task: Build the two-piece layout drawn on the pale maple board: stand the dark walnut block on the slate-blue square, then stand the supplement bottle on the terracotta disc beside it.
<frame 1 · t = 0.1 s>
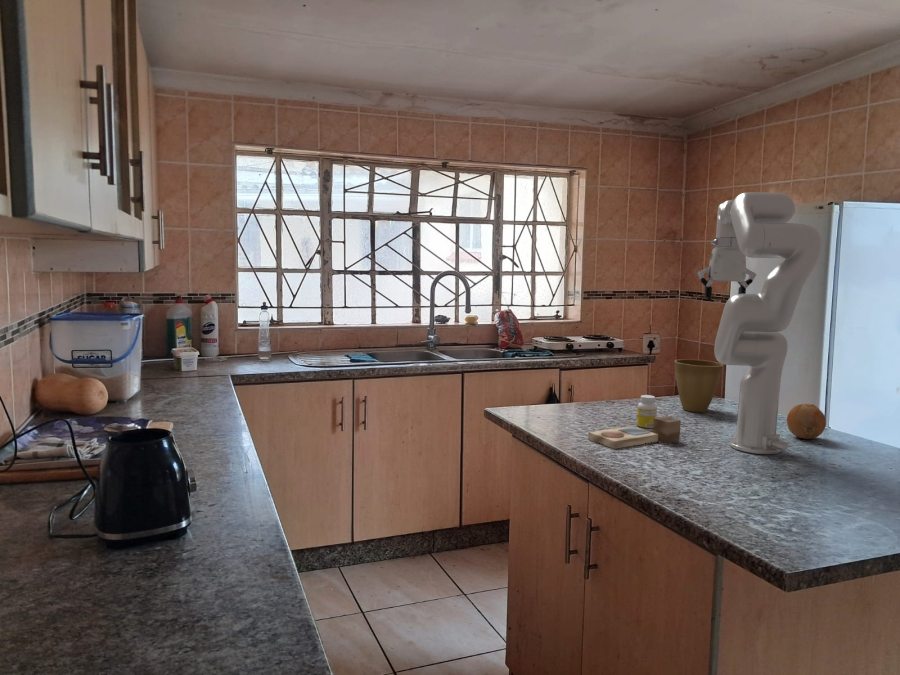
hand: (724, 300, 205), 37 cm above the countertop, tool pointing down, fingers open, 9 cm apart
plant pot: (695, 410, 221), on the countertop
board: (623, 440, 182), on the countertop
supplement bottle: (646, 429, 195), on the countertop
walnut block: (665, 440, 183), on the countertop
onion: (804, 439, 188), on the countertop
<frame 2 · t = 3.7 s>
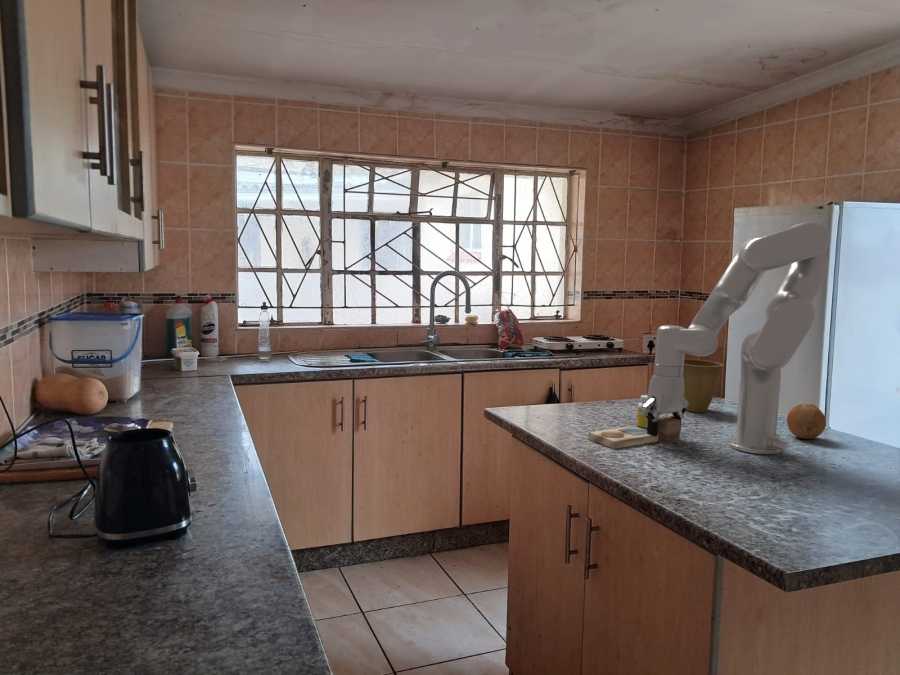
hand: (663, 433, 183), 2 cm above the countertop, tool pointing down, fingers open, 8 cm apart
nothing on the countertop moved.
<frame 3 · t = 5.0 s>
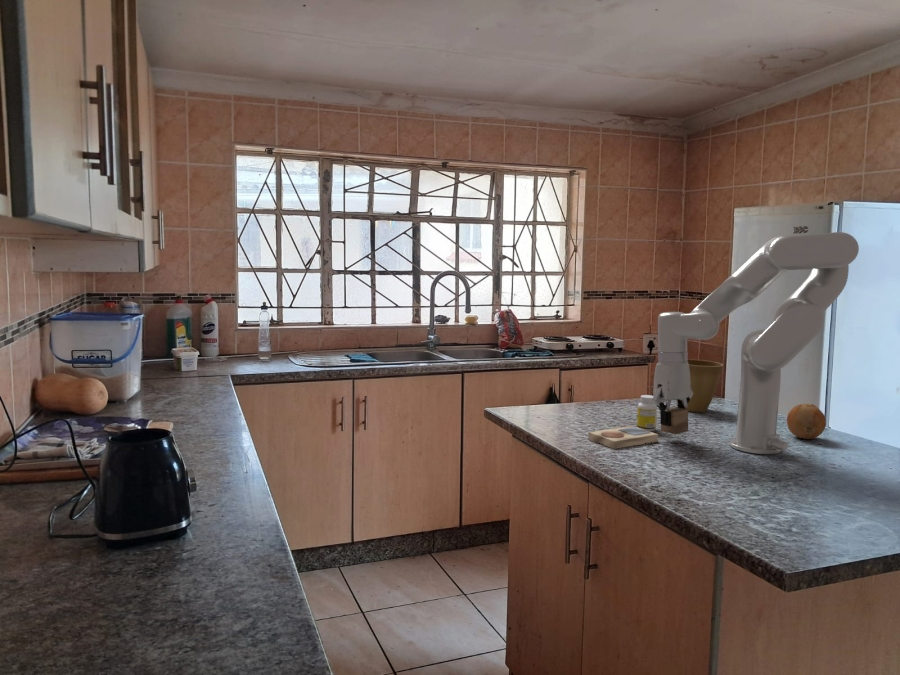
hand: (673, 422, 182), 5 cm above the countertop, tool pointing down, fingers closed on walnut block, 5 cm apart
walnut block: (674, 431, 182), point 3 cm above the countertop, touching gripper
everything else where it was.
when the fingers open (4 cm above the countertop, at t = 8.6 s): walnut block stays where it is, resting on board.
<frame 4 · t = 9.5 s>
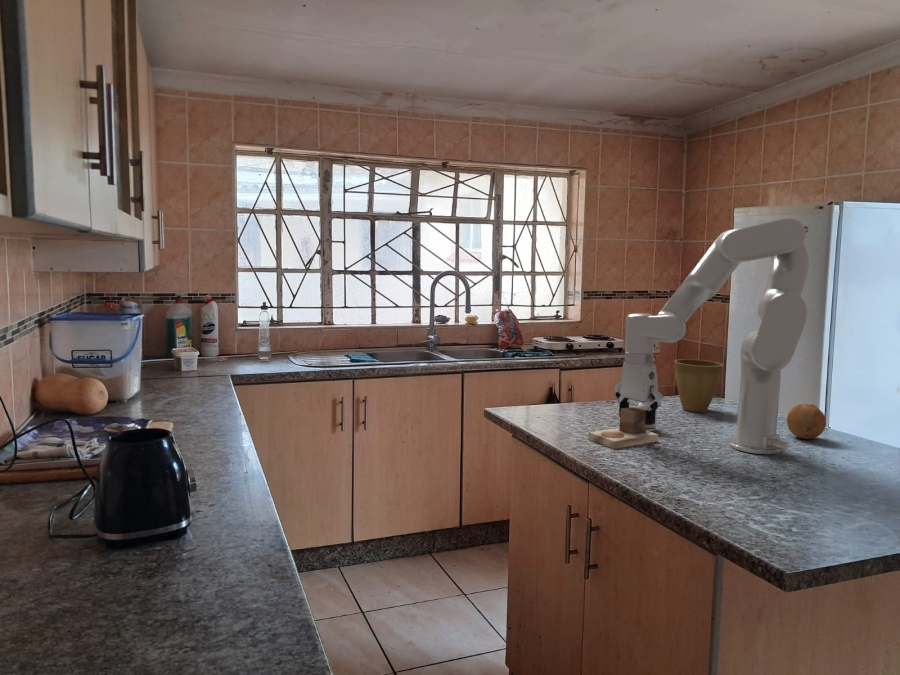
hand: (636, 420, 183), 5 cm above the countertop, tool pointing down, fingers open, 9 cm apart
walnut block: (632, 431, 184), point 2 cm above the countertop, touching board
everything else where it was.
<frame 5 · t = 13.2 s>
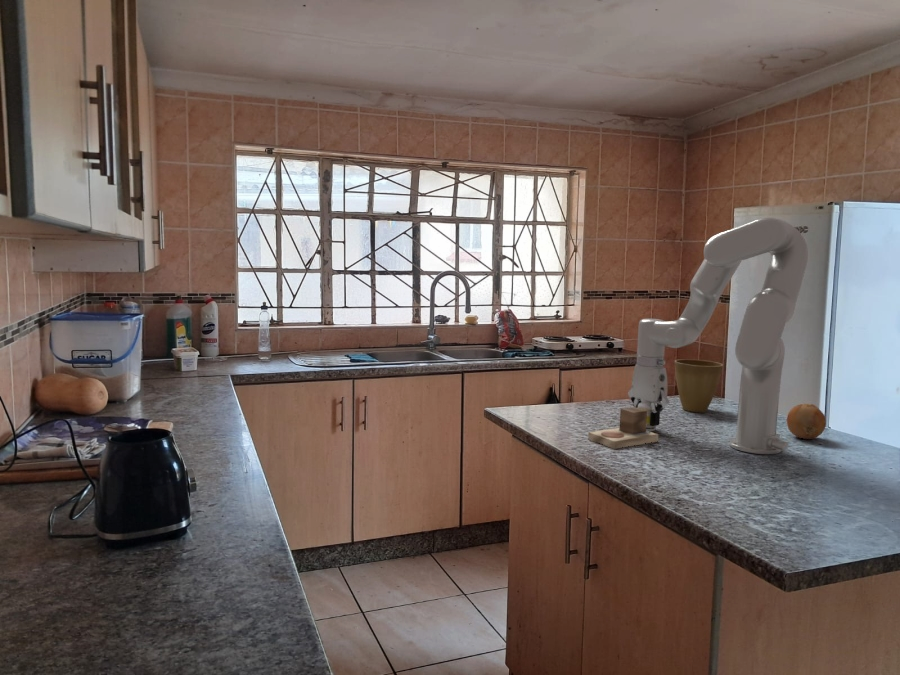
hand: (646, 422, 194), 2 cm above the countertop, tool pointing down, fingers closed on supplement bottle, 5 cm apart
supplement bottle: (646, 429, 195), on the countertop, touching gripper
everything else where it was.
when the fingers open (5 cm above the countertop, at t = 18.2 s): supplement bottle drops 1 cm, resting on board.
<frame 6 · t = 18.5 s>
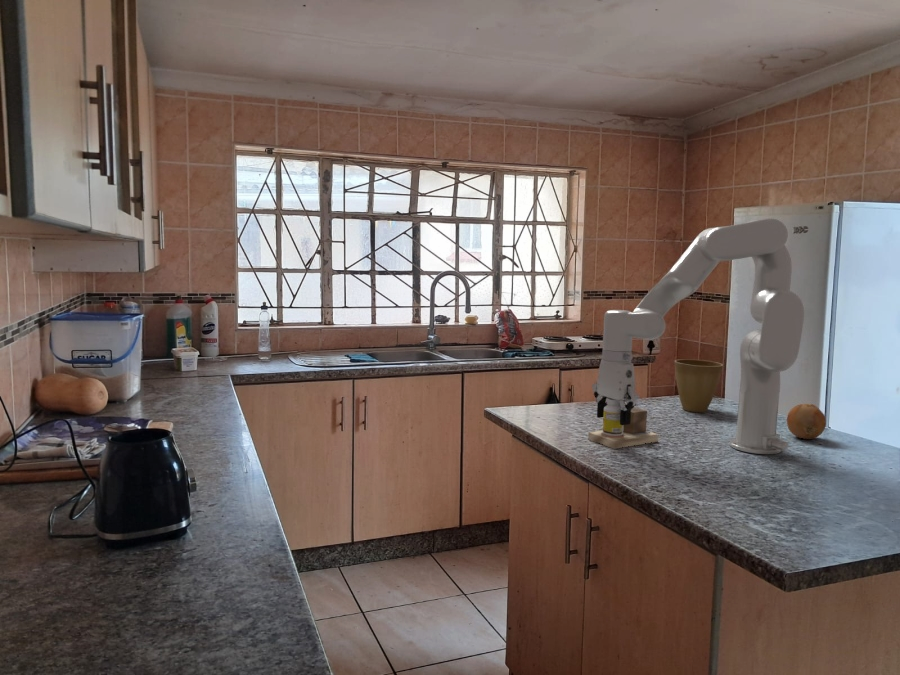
hand: (613, 420, 179), 6 cm above the countertop, tool pointing down, fingers open, 8 cm apart
supplement bottle: (612, 434, 180), point 2 cm above the countertop, touching board
everything else where it was.
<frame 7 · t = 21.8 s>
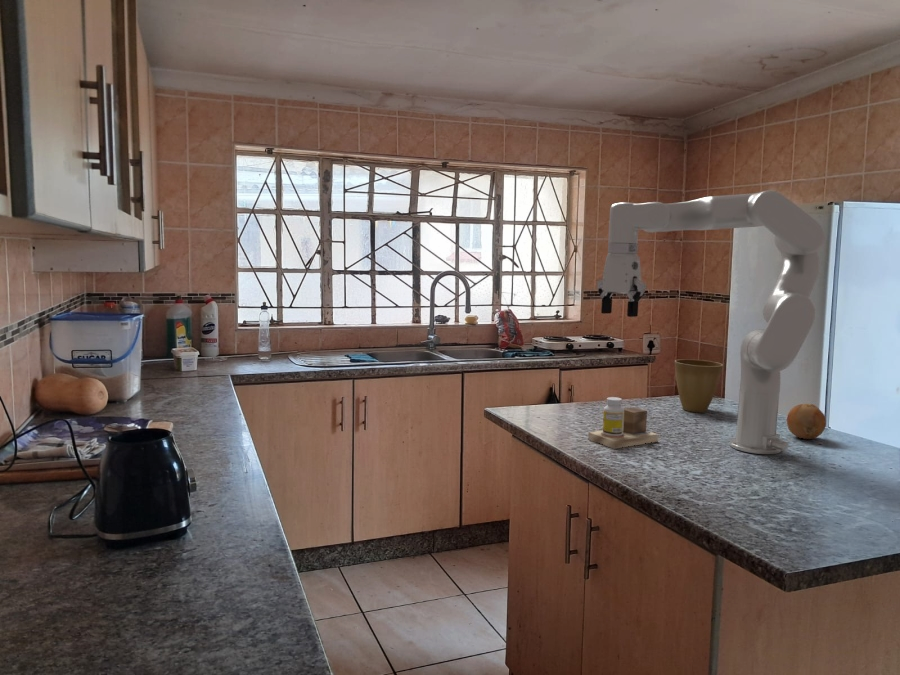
hand: (619, 314, 179), 34 cm above the countertop, tool pointing down, fingers open, 9 cm apart
nothing on the countertop moved.
at the end: walnut block 0.5 cm from the target spot on the board, point 2.2 cm above the board's base; supplement bottle 0.1 cm from the target spot on the board, point 2.0 cm above the board's base; supplement bottle tilted 0° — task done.
